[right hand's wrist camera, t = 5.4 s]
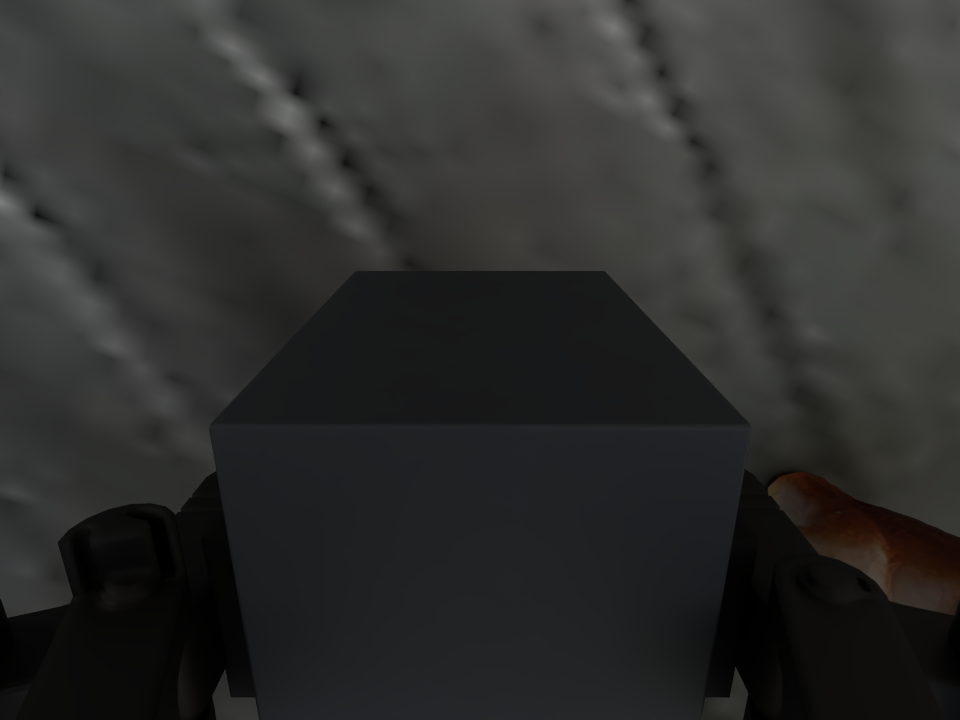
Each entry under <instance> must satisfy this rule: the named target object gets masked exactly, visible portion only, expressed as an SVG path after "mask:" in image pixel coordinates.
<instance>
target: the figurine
mask: <svg viewBox="0 0 960 720" xmlns="http://www.w3.org/2000/svg"><path fill="white" fill-rule="evenodd" d="M768 495H769V496H772V497H773V499H774V500H775V501H776V502H777V504H778V505H779V506H780V510H783V511H784V512H785V513H786V515H787V516H788V517H789V518H790V519H791V521H792V522H793V523H794V524H795V526H796V527H797V528H798V529H799V531H800V532H801V533H802V534H803V535H804V537H805V538H806V539H807V540H808V542H809V543H810V544H811V545H812V546H813V548H814V549H815V550H816V551H817V553H818V554H819V555H823V556H827V557H830V558H834V559H838V560H840V561H843V562H845V563H847V564H849V565H851V566H853V567H855V568H857V569H859V570H861V571H862V572H864V573H865V574H866V575H868V576H869V577H870V578H872V579H873V580H874V581H876V582H877V584H878V585H879V586H880V588H881V589H882V590H883V591H884V593H885V594H886V595H887V597H888V599H889V601H892V602H895V603H899V604H903V605H907V606H912V607H917V608H921V609H926V610H931V611H935V612H940V613H945V614H949V615H954V614H955V612H956V609H957V606H958V603H959V600H960V537H957V536H954V535H952V534H949V533H946V532H944V531H942V530H940V529H938V528H936V527H933V526H931V525H928V524H926V523H924V522H921V521H919V520H917V519H914V518H911V517H909V516H906V515H903V514H899V513H896V512H893V511H890V510H888V509H885V508H882V507H878V506H874V505H871V504H867V503H864V502H861V501H859V500H856V499H854V498H853V497H851V496H849V495H848V494H846V493H844V492H842V491H841V490H840V489H839V488H837V487H836V486H834V485H832V484H830V483H828V482H827V481H826V480H825V479H823V478H822V477H816V476H814V475H812V474H809V473H804V472H796V473H792V474H788V475H784V476H781V477H779V478H778V479H777V480H776V481H775V482H774V483H772V484H771V485H770V486H769V487H768Z"/></svg>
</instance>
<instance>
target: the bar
mask: <svg viewBox="0 0 960 720" xmlns="http://www.w3.org/2000/svg"><path fill="white" fill-rule="evenodd" d="M209 430H210V436H211V442H212V448H213V454H214V460H215V465H216V471H217V477H218V483H219V489H220V494H221V500H222V506H223V512H224V518H225V524H226V529H227V535H228V541H229V547H230V553H231V558H232V564H233V570H234V576H235V582H236V587H237V593H238V599H239V605H240V611H241V617H242V622H243V628H244V634H245V640H246V646H247V651H248V657H249V663H250V669H251V675H252V681H253V686H254V692H255V698H256V704H257V710H258V715H259V720H701V718H702V713H703V707H704V701H705V695H706V690H707V684H708V678H709V672H710V666H711V661H712V655H713V649H714V643H715V638H716V632H717V626H718V620H719V614H720V609H721V603H722V597H723V591H724V586H725V580H726V574H727V568H728V562H729V557H730V551H731V545H732V539H733V534H734V528H735V522H736V516H737V510H738V505H739V499H740V493H741V487H742V482H743V476H744V470H745V464H746V459H747V453H748V447H749V441H750V435H751V425H750V423H749V422H748V421H747V420H746V419H745V418H744V417H743V416H742V415H741V414H740V413H739V412H738V411H737V410H736V409H735V408H734V407H733V406H732V405H731V404H730V402H729V401H728V400H727V399H726V398H725V397H724V396H723V395H722V394H721V393H720V392H719V391H718V390H717V389H716V388H715V387H714V386H713V385H712V384H711V382H710V381H709V380H708V379H707V378H706V377H705V376H704V375H703V374H702V373H701V372H700V371H699V370H698V369H697V368H696V367H695V366H694V365H693V364H692V362H691V361H690V360H689V359H688V358H687V357H686V356H685V355H684V354H683V353H682V352H681V351H680V350H679V349H678V348H677V347H676V346H675V345H674V344H673V343H672V341H671V340H670V339H669V338H668V337H667V336H666V335H665V334H664V333H663V332H662V331H661V330H660V329H659V328H658V327H657V326H656V325H655V324H654V323H653V321H652V320H651V319H650V318H649V317H648V316H647V315H646V314H645V313H644V312H643V311H642V310H641V309H640V308H639V307H638V306H637V305H636V304H635V303H634V301H633V300H632V299H631V298H630V297H629V296H628V295H627V294H626V293H625V292H624V291H623V290H622V289H621V288H620V287H619V286H618V285H617V284H616V283H615V282H614V280H613V279H612V278H611V277H610V276H609V275H608V274H607V273H606V272H604V271H356V272H354V273H353V275H352V276H351V277H350V278H349V279H348V280H347V281H346V282H345V283H344V284H343V285H342V286H341V287H340V288H339V289H338V290H337V291H336V292H335V293H334V295H333V296H332V297H331V298H330V299H329V300H328V301H327V302H326V303H325V304H324V305H323V306H322V307H321V308H320V309H319V310H318V311H317V312H316V314H315V315H314V316H313V317H312V318H311V319H310V320H309V321H308V322H307V323H306V324H305V325H304V326H303V327H302V328H301V329H300V330H299V331H298V333H297V334H296V335H295V336H294V337H293V338H292V339H291V340H290V341H289V342H288V343H287V344H286V345H285V346H284V347H283V348H282V349H281V350H280V351H279V353H278V354H277V355H276V356H275V357H274V358H273V359H272V360H271V361H270V362H269V363H268V364H267V365H266V366H265V367H264V368H263V369H262V370H261V372H260V373H259V374H258V375H257V376H256V377H255V378H254V379H253V380H252V381H251V382H250V383H249V384H248V385H247V386H246V387H245V388H244V389H243V390H242V392H241V393H240V394H239V395H238V396H237V397H236V398H235V399H234V400H233V401H232V402H231V403H230V404H229V405H228V406H227V407H226V408H225V409H224V411H223V412H222V413H221V414H220V415H219V416H218V417H217V418H216V419H215V420H214V421H213V422H212V423H211V424H210V428H209Z"/></svg>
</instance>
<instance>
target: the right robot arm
mask: <svg viewBox="0 0 960 720" xmlns="http://www.w3.org/2000/svg"><path fill="white" fill-rule="evenodd" d="M58 545H59V549H60V552H61V556H62V559H63V563H64V566H65V570H66V573H67V577H68V580H69V584H70V587H71V590H72V594H73V598H72V600H71V603H70V604H68V605H64V606H61V607H56V608H52V609H47V610H42V611H38V612H33V613H28V614H24V615H19V616H14V617H10V618H7V616H6V613H5V610H4V607H3V604H2V601H1V599H0V720H216V716H215V708H214V703H213V698H212V695H213V693H214V691H215V689H216V687H217V685H218V683H219V680H220V678H221V676H222V674H223V672H224V670H225V668H226V674H227V679H228V684H229V689H230V695H231V697H255V692H254V686H253V681H252V675H251V669H250V663H249V657H248V651H247V646H246V640H245V634H244V628H243V622H242V617H241V611H240V605H239V599H238V593H237V587H236V582H235V576H234V570H233V564H232V558H231V553H230V547H229V541H228V535H227V529H226V524H225V518H224V512H223V506H222V500H221V494H220V489H219V483H218V477H217V471H216V472H214V473H212V474H211V475H209V476H208V477H206V478H205V480H204V481H203V482H202V483H201V485H200V486H199V487H198V488H197V490H196V491H195V492H194V493H193V497H192V498H189V499H188V501H187V502H186V503H185V504H184V506H183V507H182V508H181V512H178V513H177V514H176V515H175V514H174V513H173V512H172V511H171V510H169V509H168V508H167V507H166V506H161V505H156V504H151V503H147V504H130V505H126V506H121V507H117V508H113V509H108V510H106V511H104V512H101V513H99V514H96V515H94V516H91V517H89V518H87V519H85V520H84V521H82V522H80V523H79V524H77V525H76V526H74V527H73V528H71V529H69V530H68V532H67V533H66V534H65V535H64V536H63V537H62V538H61V539H60V540H59V542H58ZM735 666H736V668H737V670H738V672H739V674H740V676H741V679H742V681H743V683H744V685H745V687H746V689H747V691H748V698H747V703H746V708H745V713H744V718H743V720H960V600H959V603H958V606H957V609H956V612H955V614H954V615H949V614H945V613H940V612H935V611H931V610H926V609H921V608H917V607H912V606H907V605H903V604H899V603H895V602H892V601H889V599H888V597H887V595H886V594H885V593H884V591H883V590H882V589H881V588H880V586H879V585H878V584H877V582H876V581H874V580H873V579H872V578H870V577H869V576H868V575H866V574H865V573H864V572H862V571H861V570H859V569H857V568H855V567H853V566H851V565H849V564H847V563H845V562H843V561H840V560H838V559H834V558H830V557H827V556H823V555H819V554H818V553H817V551H816V550H815V549H814V548H813V546H812V545H811V544H810V543H809V542H808V540H807V539H806V538H805V537H804V535H803V534H802V533H801V532H800V531H799V529H798V528H797V527H796V526H795V524H794V523H793V522H792V521H791V519H790V518H789V517H788V516H787V515H786V513H785V512H784V511H783V510H780V506H779V505H778V504H777V502H776V501H775V500H774V499H773V497H772V496H769V495H768V491H767V490H766V489H765V488H764V486H763V485H762V484H761V483H760V482H759V480H758V479H757V478H756V477H755V475H753V474H752V473H750V472H748V471H747V470H744V476H743V482H742V487H741V493H740V499H739V505H738V510H737V516H736V522H735V528H734V534H733V539H732V545H731V551H730V557H729V562H728V568H727V574H726V580H725V586H724V591H723V597H722V603H721V609H720V614H719V620H718V626H717V632H716V638H715V643H714V649H713V655H712V661H711V666H710V672H709V678H708V684H707V690H706V695H705V697H730V692H731V686H732V681H733V676H734V671H735Z"/></svg>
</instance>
